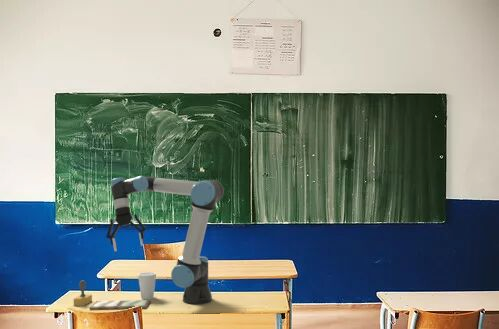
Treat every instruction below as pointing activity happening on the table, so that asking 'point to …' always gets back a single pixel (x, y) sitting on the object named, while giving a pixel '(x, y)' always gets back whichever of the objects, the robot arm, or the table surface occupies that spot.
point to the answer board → (119, 304)
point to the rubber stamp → (82, 296)
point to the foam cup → (147, 284)
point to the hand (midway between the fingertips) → (128, 248)
